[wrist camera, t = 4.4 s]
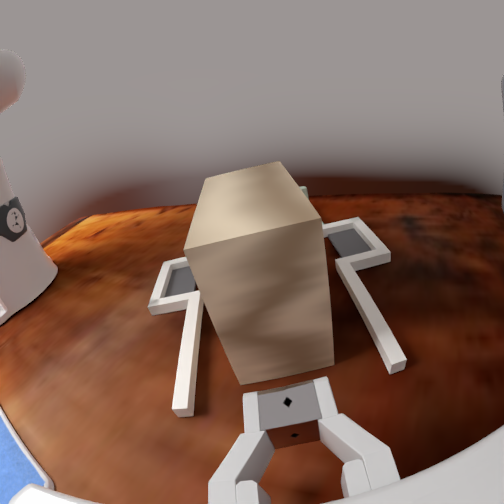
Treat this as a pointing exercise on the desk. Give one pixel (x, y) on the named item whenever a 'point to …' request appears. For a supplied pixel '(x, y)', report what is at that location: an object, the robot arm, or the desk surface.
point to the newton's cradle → (503, 86)
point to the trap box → (352, 259)
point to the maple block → (262, 272)
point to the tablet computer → (17, 464)
